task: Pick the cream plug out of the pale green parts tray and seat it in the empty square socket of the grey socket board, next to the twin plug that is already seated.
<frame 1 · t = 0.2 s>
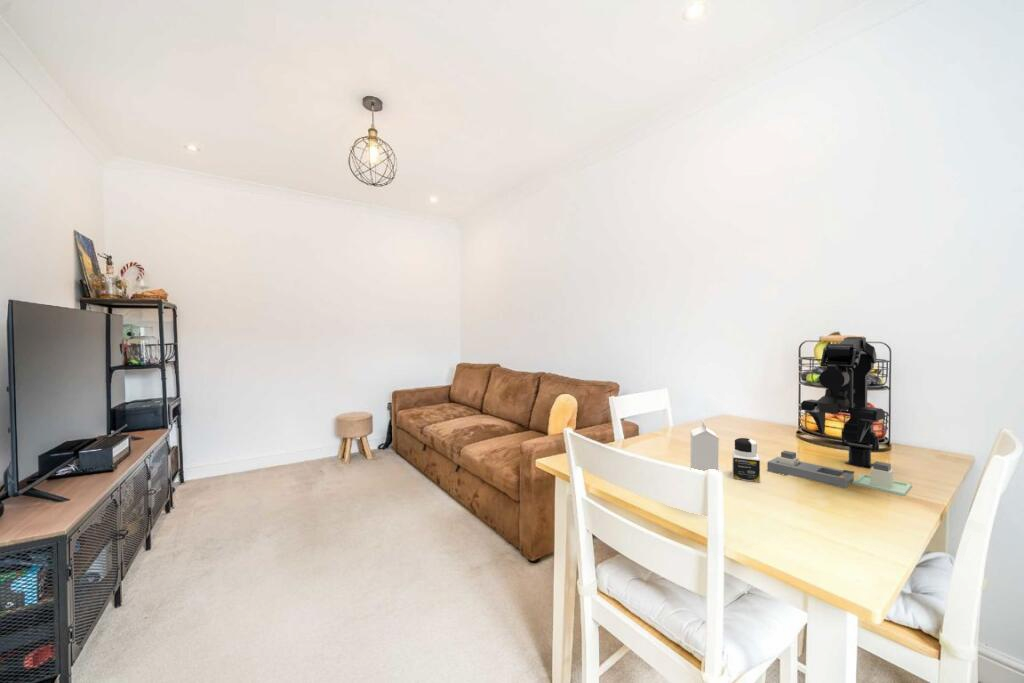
hand: (840, 438, 117), 14 cm above the table, tool pointing down, fingers open, 9 cm apart
medicine bottle: (745, 477, 124), on the table
grey socket board: (808, 476, 124), on the table
parts tray: (881, 487, 115), on the table
plug: (881, 485, 115), resting on parts tray
twin plug: (788, 471, 129), resting in grey socket board
milk: (704, 505, 105), on the table
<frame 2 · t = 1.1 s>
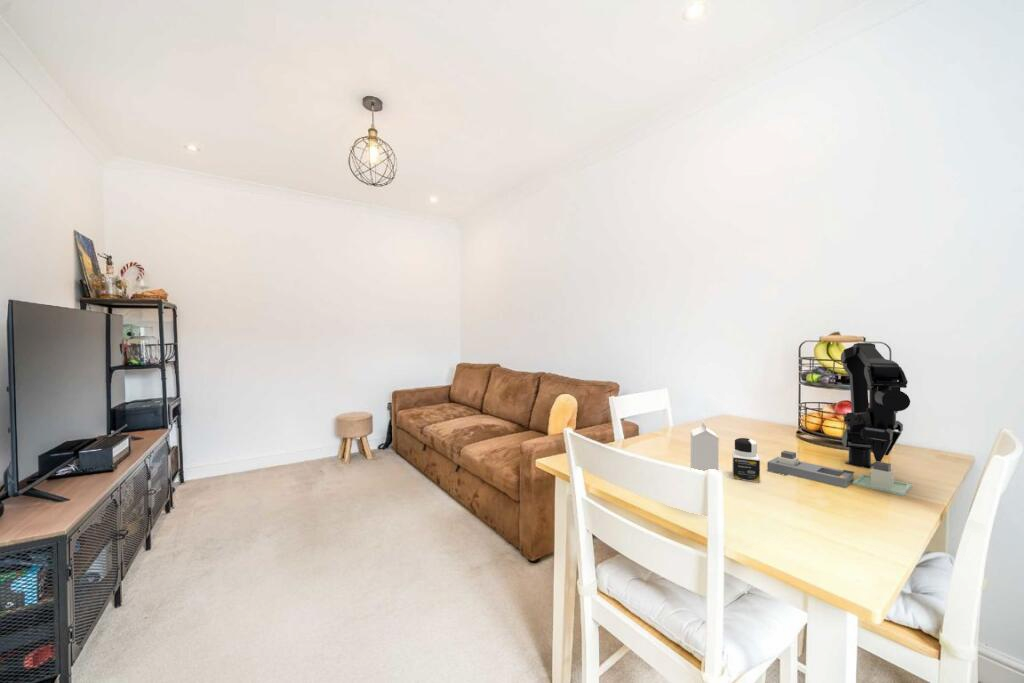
hand: (881, 458, 115), 9 cm above the table, tool pointing down, fingers open, 9 cm apart
nothing on the table moved.
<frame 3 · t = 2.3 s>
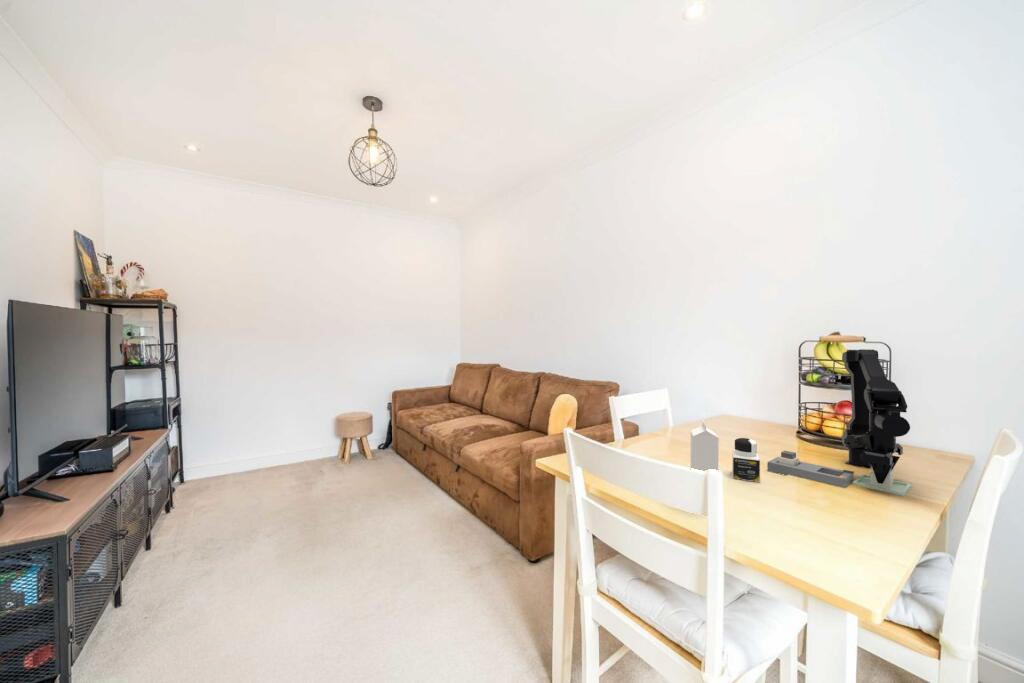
hand: (881, 481, 115), 2 cm above the table, tool pointing down, fingers closed on plug, 4 cm apart
plug: (881, 485, 115), resting on parts tray, touching gripper
everything else where it was.
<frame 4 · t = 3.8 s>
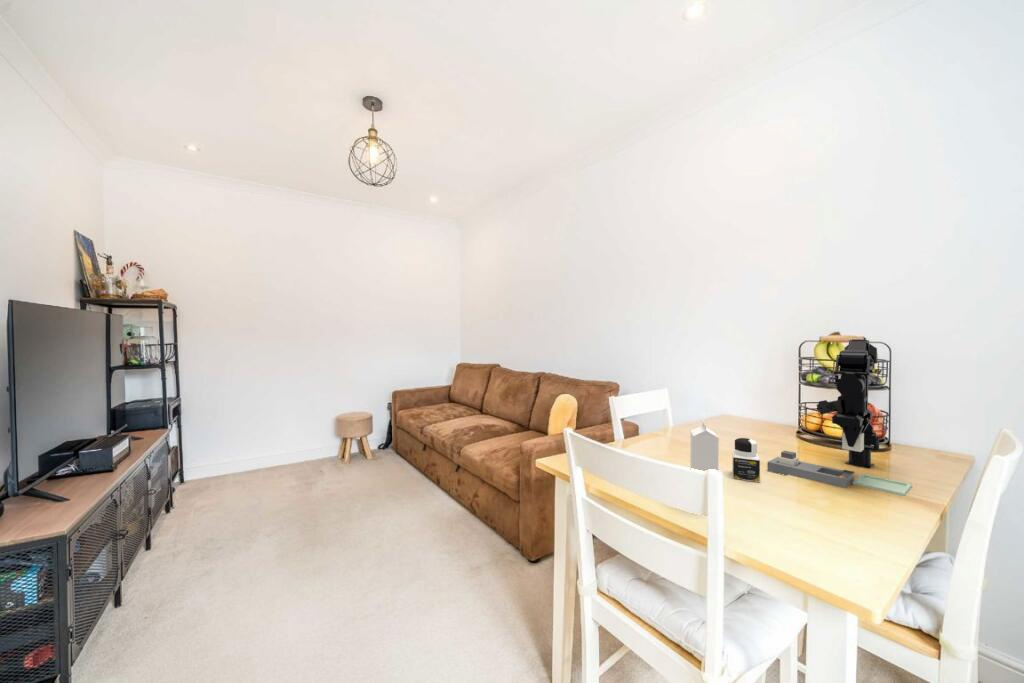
hand: (852, 445, 117), 12 cm above the table, tool pointing down, fingers closed on plug, 4 cm apart
plug: (853, 449, 117), point 11 cm above the table, touching gripper
everything else where it was.
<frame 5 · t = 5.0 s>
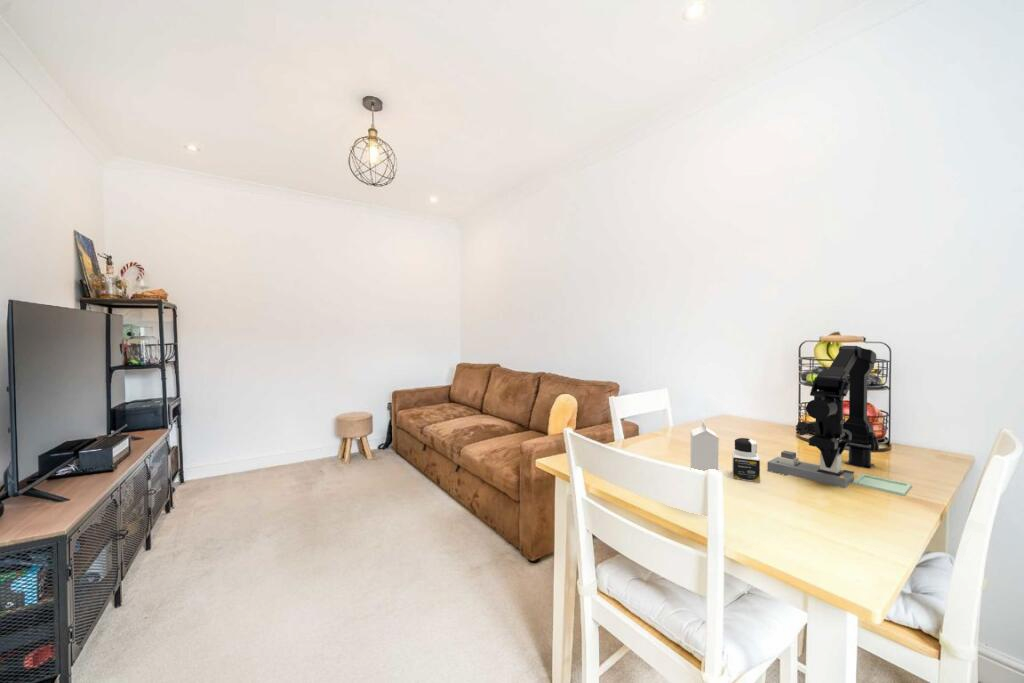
hand: (830, 466, 120), 5 cm above the table, tool pointing down, fingers closed on plug, 4 cm apart
plug: (830, 469, 120), point 4 cm above the table, touching gripper
everything else where it was.
when the fingers open (3 cm above the table, at t = 5.6 s): plug drops 2 cm, resting in grey socket board.
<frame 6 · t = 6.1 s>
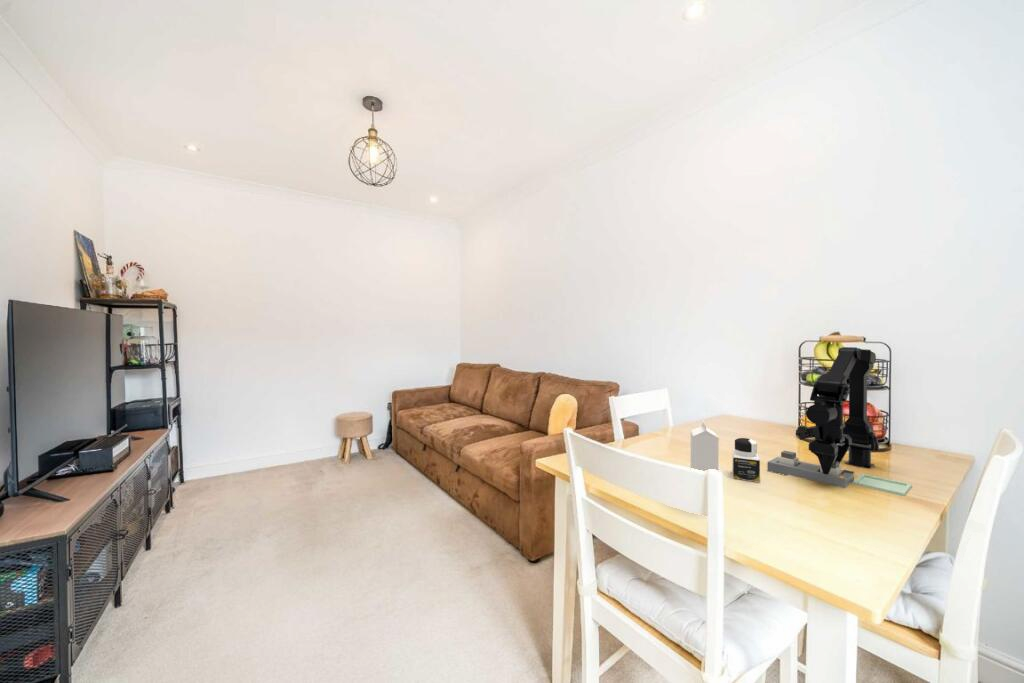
hand: (830, 470, 120), 3 cm above the table, tool pointing down, fingers open, 9 cm apart
plug: (830, 481, 120), resting in grey socket board
everything else where it was.
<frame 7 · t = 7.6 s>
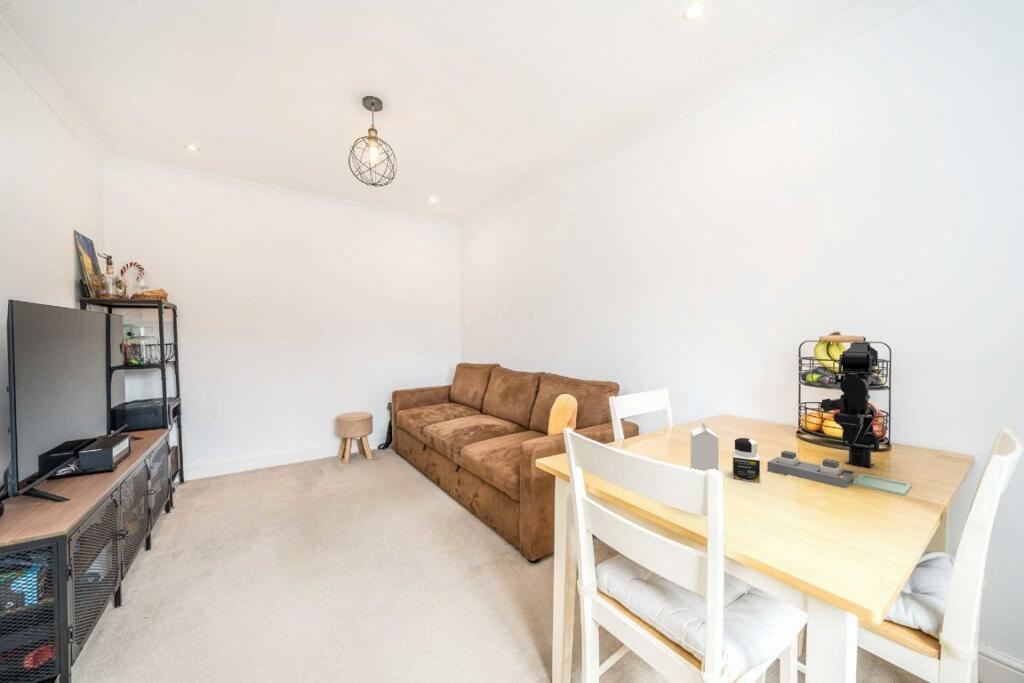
hand: (855, 441, 122), 12 cm above the table, tool pointing down, fingers open, 9 cm apart
nothing on the table moved.
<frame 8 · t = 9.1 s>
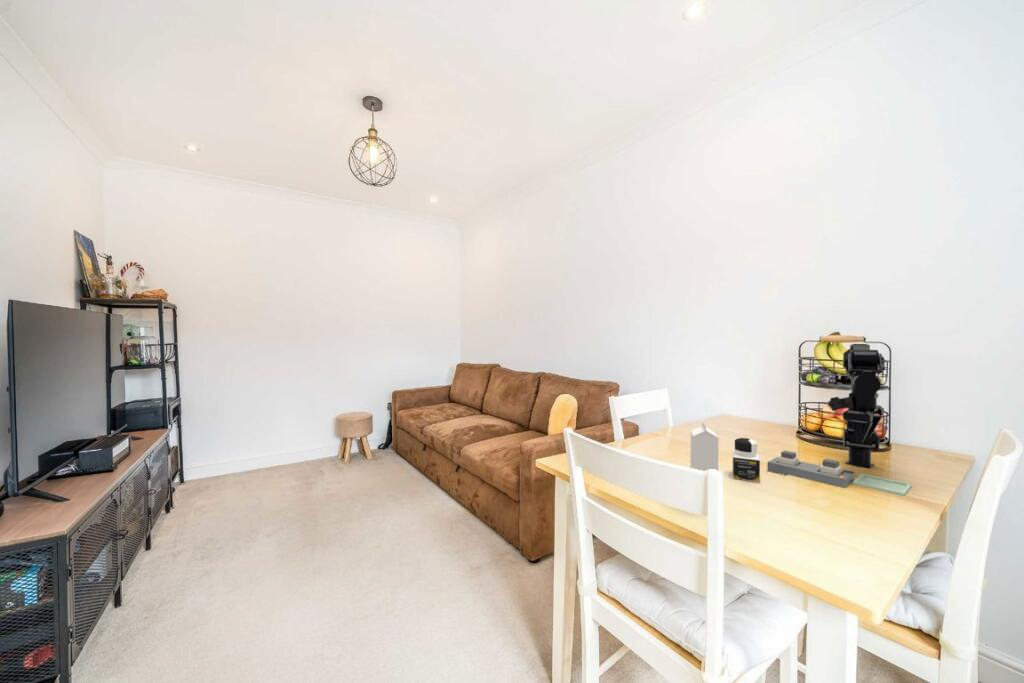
hand: (863, 440, 122), 12 cm above the table, tool pointing down, fingers open, 9 cm apart
nothing on the table moved.
at the end: plug 0.1 cm from the target spot on the grey socket board, point 0.0 cm above the grey socket board's base; plug tilted 0°; the gripper is holding nothing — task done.
